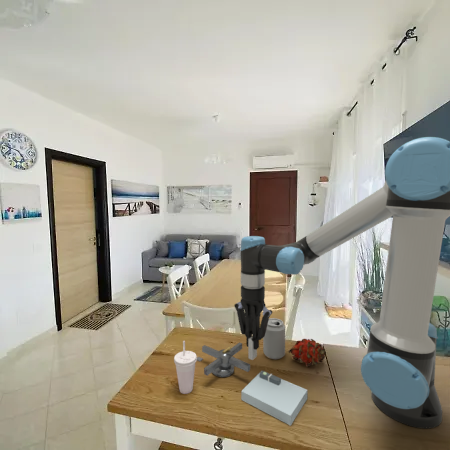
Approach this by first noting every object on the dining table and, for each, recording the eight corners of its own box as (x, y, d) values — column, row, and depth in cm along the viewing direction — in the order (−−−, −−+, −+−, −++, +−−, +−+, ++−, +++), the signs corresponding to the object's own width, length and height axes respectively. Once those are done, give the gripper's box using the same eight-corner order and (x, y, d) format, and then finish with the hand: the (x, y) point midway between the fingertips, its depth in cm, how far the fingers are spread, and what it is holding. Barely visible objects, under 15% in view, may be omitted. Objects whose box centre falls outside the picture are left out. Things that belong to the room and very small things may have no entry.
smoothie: (188, 378, 80) (187, 334, 79) (201, 389, 76) (201, 341, 75) (170, 389, 76) (169, 341, 75) (183, 400, 71) (182, 350, 70)
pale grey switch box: (307, 398, 71) (307, 384, 71) (290, 425, 63) (290, 409, 62) (261, 378, 80) (261, 365, 80) (241, 399, 71) (241, 385, 71)
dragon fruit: (329, 371, 86) (291, 372, 88) (323, 345, 92) (288, 346, 95) (329, 359, 81) (289, 360, 83) (323, 332, 87) (286, 334, 90)
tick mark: (203, 359, 90) (203, 358, 90) (199, 361, 89) (199, 360, 89) (198, 357, 91) (198, 356, 91) (195, 359, 90) (195, 358, 90)
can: (285, 361, 88) (285, 327, 88) (262, 359, 90) (262, 325, 89) (284, 349, 96) (285, 317, 95) (263, 347, 97) (264, 316, 96)
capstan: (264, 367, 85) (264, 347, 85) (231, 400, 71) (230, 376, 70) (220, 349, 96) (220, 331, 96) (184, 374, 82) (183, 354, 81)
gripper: (276, 286, 82) (276, 358, 84) (242, 279, 90) (242, 345, 92) (265, 292, 76) (264, 370, 78) (229, 284, 84) (229, 355, 86)
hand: (252, 357), depth 85 cm, fingers closed
